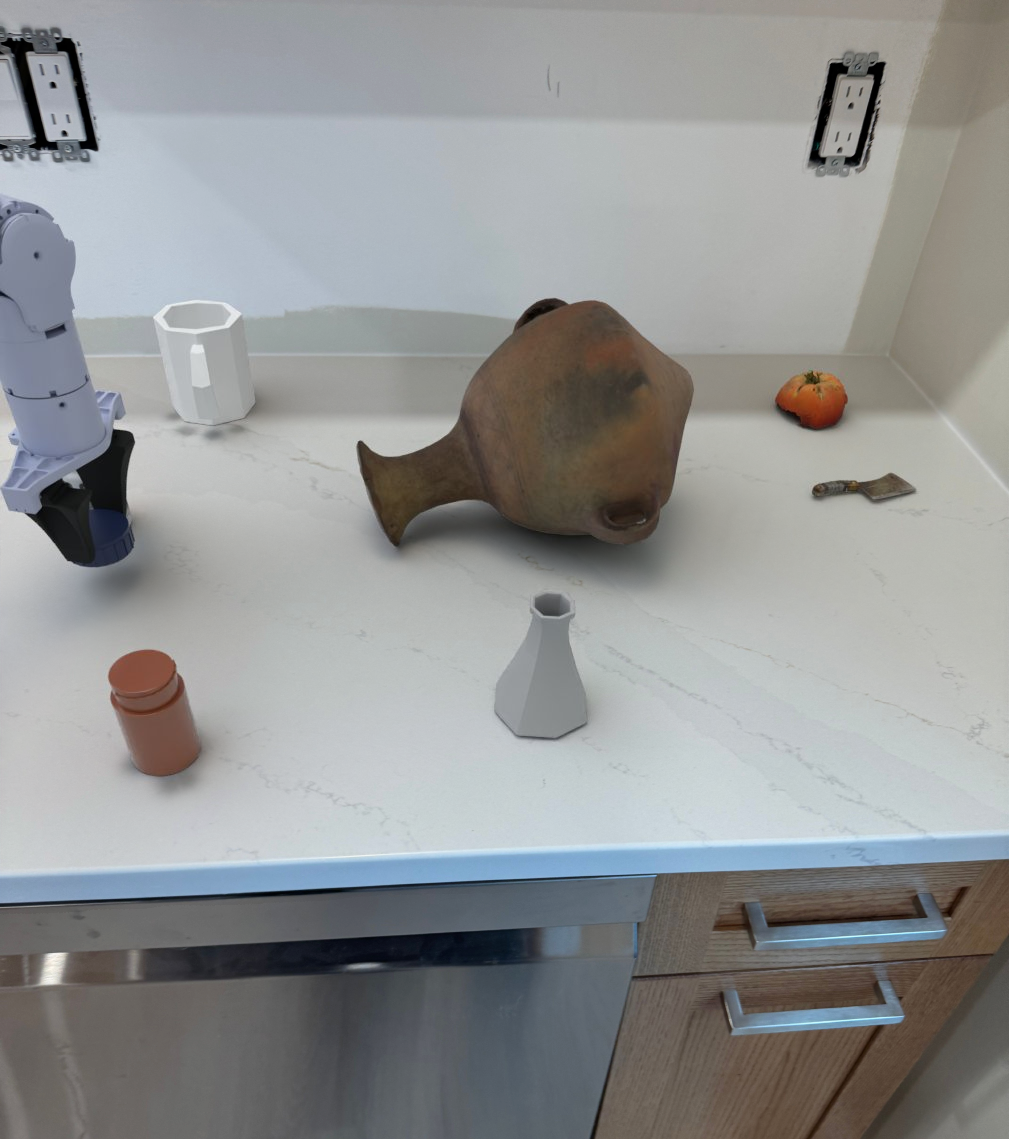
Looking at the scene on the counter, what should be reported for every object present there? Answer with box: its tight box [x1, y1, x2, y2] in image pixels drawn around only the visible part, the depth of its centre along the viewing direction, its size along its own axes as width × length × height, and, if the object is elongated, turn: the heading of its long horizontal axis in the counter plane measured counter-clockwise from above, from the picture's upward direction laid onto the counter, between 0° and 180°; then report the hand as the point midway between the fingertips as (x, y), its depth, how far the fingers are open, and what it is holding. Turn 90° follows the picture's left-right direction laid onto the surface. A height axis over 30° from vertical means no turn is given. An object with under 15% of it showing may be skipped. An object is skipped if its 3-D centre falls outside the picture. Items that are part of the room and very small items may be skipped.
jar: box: [107, 649, 202, 777], centre depth 59 cm, size 5×5×8 cm
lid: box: [71, 509, 136, 568], centre depth 72 cm, size 5×5×2 cm
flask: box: [494, 588, 588, 739], centre depth 64 cm, size 7×7×10 cm
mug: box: [152, 299, 256, 426], centre depth 92 cm, size 12×9×10 cm
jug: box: [355, 297, 695, 547], centre depth 78 cm, size 20×20×30 cm
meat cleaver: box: [811, 472, 917, 500], centre depth 91 cm, size 12×1×5 cm
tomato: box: [774, 367, 849, 430], centre depth 102 cm, size 8×7×7 cm
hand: (97, 538), depth 72 cm, fingers closed on lid, 5 cm apart
